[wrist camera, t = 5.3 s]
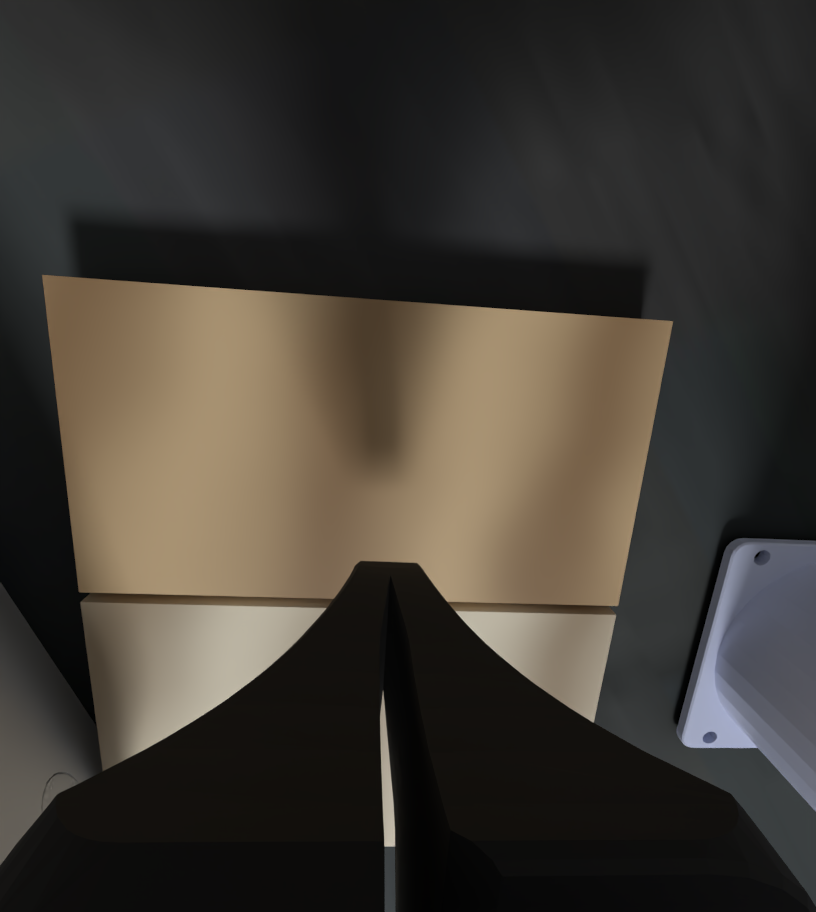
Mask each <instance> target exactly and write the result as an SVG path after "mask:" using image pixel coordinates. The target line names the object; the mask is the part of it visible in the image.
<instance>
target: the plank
mask: <svg viewBox="0 0 816 912" xmlns="http://www.w3.org/2000/svg"><path fill="white" fill-rule="evenodd" d="M42 278H43V286H44V295H45V304H46V312H47V321H48V330H49V338H50V347H51V355H52V364H53V373H54V381H55V390H56V399H57V407H58V416H59V425H60V433H61V442H62V450H63V459H64V468H65V476H66V485H67V494H68V502H69V511H70V519H71V528H72V537H73V545H74V554H75V563H76V571H77V580H78V589H79V592H84V593H124V594H163V595H203V596H242V597H282V598H321V599H334V598H335V596H336V595H337V594H338V593H339V591H340V590H341V588H342V587H343V585H344V584H345V582H346V581H347V579H348V578H349V576H350V574H351V573H352V571H353V569H354V566H355V565H356V564H357V563H358V562H360V561H380V562H408V563H418V564H419V565H420V566H421V568H422V569H423V570H424V572H425V573H426V575H427V576H428V577H429V579H430V580H431V581H432V583H433V584H434V586H435V587H436V588H437V589H438V591H439V592H440V593H441V595H442V596H443V597H444V598H445V600H446V601H447V602H479V603H519V604H558V605H597V606H618V603H619V598H620V593H621V588H622V583H623V577H624V572H625V567H626V562H627V557H628V551H629V546H630V541H631V536H632V531H633V526H634V520H635V515H636V510H637V505H638V500H639V495H640V489H641V484H642V479H643V474H644V469H645V464H646V458H647V453H648V448H649V443H650V438H651V432H652V427H653V422H654V417H655V412H656V407H657V401H658V396H659V391H660V386H661V381H662V376H663V370H664V365H665V360H666V355H667V350H668V344H669V339H670V334H671V329H672V324H673V321H662V320H648V319H634V318H621V317H607V316H594V315H580V314H566V313H553V312H539V311H525V310H512V309H498V308H485V307H471V306H457V305H444V304H430V303H417V302H403V301H389V300H376V299H362V298H349V297H335V296H321V295H308V294H294V293H281V292H267V291H253V290H240V289H226V288H213V287H199V286H185V285H172V284H158V283H145V282H131V281H117V280H104V279H90V278H77V277H63V276H49V275H42Z"/></svg>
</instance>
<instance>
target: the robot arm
mask: <svg viewBox="0 0 816 912" xmlns="http://www.w3.org/2000/svg"><path fill="white" fill-rule="evenodd" d="M758 552H760V554H759V555H758V557H756V558H755V559H754V557H755V555H756V554H757V553H758ZM383 693H384V705H385V716H386V727H387V738H388V749H389V759H390V770H391V781H392V792H393V803H394V822H395V886H396V912H816V907H815V905H814V903H813V902H812V900H811V898H810V897H809V895H808V894H807V892H806V891H805V889H804V888H803V887H802V885H801V884H800V883H799V881H798V880H797V879H796V877H795V876H794V875H793V873H792V872H791V871H790V869H789V868H788V867H787V865H786V864H785V863H784V862H783V860H782V859H781V858H780V856H779V855H778V854H777V852H776V851H775V850H774V848H773V847H772V846H771V844H770V843H769V842H768V840H767V839H766V838H765V836H764V835H763V834H762V832H761V831H760V830H759V828H758V827H757V826H756V825H755V823H754V822H753V821H752V819H751V818H750V817H749V816H748V814H747V813H746V812H745V810H744V809H743V808H742V807H741V806H740V804H739V803H738V802H737V801H736V800H735V798H734V797H733V796H732V795H731V794H730V793H728V792H726V791H724V790H722V789H720V788H718V787H716V786H714V785H712V784H710V783H708V782H706V781H704V780H702V779H699V778H697V777H695V776H693V775H691V774H689V773H687V772H685V771H683V770H681V769H679V768H677V767H675V766H673V765H671V764H669V763H667V762H665V761H663V760H661V759H658V758H656V757H654V756H652V755H650V754H648V753H646V752H644V751H642V750H641V749H639V748H637V747H635V746H633V745H632V744H630V743H628V742H626V741H625V740H623V739H621V738H619V737H618V736H616V735H614V734H612V733H610V732H609V731H607V730H605V729H603V728H602V727H600V726H598V725H596V724H595V723H593V722H592V721H590V720H588V719H587V718H585V717H584V716H582V715H580V714H579V713H577V712H575V711H574V710H572V709H571V708H569V707H568V706H566V705H565V704H563V703H562V702H560V701H559V700H557V699H556V698H555V697H553V696H552V695H550V694H549V693H547V692H546V691H544V690H543V689H542V688H540V687H539V686H537V685H536V684H534V683H533V682H532V681H530V680H529V679H528V678H527V677H525V676H524V675H523V674H521V673H520V672H519V671H518V670H516V669H515V668H514V667H513V666H512V665H510V664H509V663H508V662H507V661H505V660H504V659H503V658H502V657H501V656H499V655H498V654H497V653H496V652H495V651H494V650H493V649H491V648H490V647H489V646H488V645H487V644H486V643H485V642H484V641H483V640H482V639H481V638H480V637H479V636H478V635H477V634H476V633H475V632H474V631H473V630H472V629H471V628H470V627H469V626H468V625H467V624H466V623H465V622H464V621H463V620H462V619H461V617H460V616H459V615H458V614H457V613H456V612H455V610H454V609H453V608H452V607H451V606H450V605H449V603H448V602H447V601H446V600H445V598H444V597H443V596H442V595H441V593H440V592H439V591H438V589H437V588H436V587H435V586H434V584H433V583H432V581H431V580H430V579H429V577H428V576H427V575H426V573H425V572H424V570H423V569H422V568H421V566H420V565H419V564H418V563H408V562H380V561H360V562H358V563H357V564H356V565H355V566H354V569H353V571H352V573H351V574H350V576H349V578H348V579H347V581H346V582H345V584H344V585H343V587H342V588H341V590H340V591H339V593H338V594H337V595H336V596H335V598H334V599H333V600H332V602H331V603H330V604H329V606H328V607H327V608H326V609H325V611H324V612H323V613H322V614H321V615H320V616H319V618H318V619H317V620H316V621H315V622H314V623H313V624H312V625H311V626H310V628H309V629H308V630H307V631H306V632H305V633H304V634H303V635H302V636H301V637H300V638H299V639H298V640H297V641H296V642H295V643H294V644H293V645H292V646H291V647H290V648H289V649H288V650H287V651H286V652H285V653H284V654H283V655H282V656H281V657H280V658H278V659H277V660H276V661H275V662H274V663H273V664H272V665H271V666H269V667H268V668H267V669H266V670H265V671H263V672H262V673H261V674H260V675H258V676H257V677H256V678H255V679H253V680H252V681H251V682H249V683H248V684H247V685H245V686H244V687H243V688H241V689H240V690H239V691H237V692H236V693H235V694H233V695H232V696H231V697H229V698H228V699H227V700H225V701H224V702H222V703H221V704H219V705H218V706H216V707H215V708H213V709H212V710H210V711H208V712H207V713H205V714H204V715H202V716H201V717H199V718H198V719H196V720H194V721H193V722H191V723H189V724H188V725H186V726H184V727H183V728H181V729H180V730H178V731H176V732H175V733H173V734H171V735H170V736H168V737H166V738H164V739H163V740H161V741H159V742H157V743H156V744H154V745H152V746H150V747H148V748H147V749H145V750H143V751H141V752H139V753H137V754H135V755H133V756H131V757H129V758H127V759H125V760H124V761H122V762H120V763H118V764H116V765H114V766H112V767H110V768H108V769H106V770H104V771H102V772H100V773H98V774H96V775H95V776H93V777H91V778H89V779H87V780H85V781H83V782H81V783H79V784H77V785H75V786H73V787H71V788H69V789H66V790H64V791H62V792H60V793H58V794H57V795H56V796H55V798H54V799H53V800H52V801H51V803H50V804H49V805H48V806H47V808H46V809H45V810H44V811H43V813H42V814H41V815H40V816H39V817H38V819H37V820H36V821H35V822H34V823H33V825H32V826H31V827H30V828H29V829H28V830H27V832H26V833H25V834H24V835H23V836H22V838H21V839H20V840H19V841H18V842H17V844H16V845H15V846H14V848H13V849H12V850H11V852H10V853H9V854H8V856H7V857H6V858H5V860H4V861H3V862H2V864H1V865H0V912H384V822H383V799H382V771H381V736H380V713H381V704H382V695H383ZM677 735H678V737H679V739H680V740H681V741H682V743H683V744H684V745H686V746H687V747H692V748H759V750H760V751H761V752H762V753H763V754H764V755H765V756H766V757H767V758H768V759H769V761H770V762H771V763H772V764H773V765H774V766H775V767H776V768H777V769H778V770H779V772H780V773H781V774H782V775H783V776H784V777H785V778H786V779H787V780H788V781H789V783H790V784H791V785H792V786H793V787H794V788H795V789H796V790H797V791H798V793H799V794H800V795H801V796H802V797H803V798H804V799H805V800H806V801H807V802H808V804H809V805H810V806H811V807H812V808H813V809H814V810H815V811H816V541H811V540H784V539H757V538H739V539H736V540H734V541H732V542H731V543H730V544H729V545H728V546H727V547H726V549H725V551H724V554H723V558H722V562H721V565H720V569H719V573H718V577H717V580H716V584H715V588H714V592H713V595H712V599H711V603H710V607H709V610H708V614H707V618H706V622H705V625H704V629H703V633H702V637H701V640H700V644H699V648H698V651H697V655H696V659H695V663H694V666H693V670H692V674H691V678H690V681H689V685H688V689H687V693H686V696H685V700H684V704H683V708H682V711H681V715H680V719H679V723H678V726H677Z"/></svg>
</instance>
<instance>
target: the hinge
mask: <svg viewBox="0 0 816 912" xmlns="http://www.w3.org/2000/svg"><path fill="white" fill-rule="evenodd" d="M102 771H103V769H102V761H101V754H100V746H99V739H98V731H97V726H96V725H95V723H94V722H93V720H92V719H91V717H90V716H89V714H88V713H87V711H86V710H85V708H84V707H83V705H82V704H81V702H80V701H79V699H78V698H77V696H76V695H75V693H74V692H73V690H72V689H71V687H70V686H69V684H68V683H67V681H66V680H65V678H64V677H63V675H62V674H61V672H60V671H59V669H58V668H57V666H56V665H55V663H54V662H53V660H52V659H51V657H50V656H49V654H48V653H47V651H46V650H45V648H44V647H43V645H42V644H41V642H40V641H39V639H38V638H37V636H36V635H35V633H34V632H33V630H32V629H31V627H30V626H29V624H28V623H27V621H26V620H25V618H24V617H23V615H22V614H21V612H20V611H19V609H18V608H17V606H16V605H15V603H14V602H13V600H12V599H11V597H10V596H9V594H8V593H7V591H6V590H5V588H4V587H3V585H2V584H1V582H0V865H1V864H2V862H3V861H4V860H5V858H6V857H7V856H8V854H9V853H10V852H11V850H12V849H13V848H14V846H15V845H16V844H17V842H18V841H19V840H20V839H21V838H22V836H23V835H24V834H25V833H26V832H27V830H28V829H29V828H30V827H31V826H32V825H33V823H34V822H35V821H36V820H37V819H38V817H39V816H40V815H41V814H42V813H43V811H44V810H45V809H46V808H47V806H48V805H49V804H50V803H51V801H52V800H53V799H54V798H55V796H56V795H57V794H58V793H60V792H62V791H64V790H66V789H69V788H71V787H73V786H75V785H77V784H79V783H81V782H83V781H85V780H87V779H89V778H91V777H93V776H95V775H96V774H98V773H100V772H102Z"/></svg>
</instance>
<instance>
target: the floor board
mask: <svg viewBox="0 0 816 912" xmlns="http://www.w3.org/2000/svg"><path fill="white" fill-rule="evenodd" d="M332 600H333V599H321V598H282V597H242V596H203V595H163V594H124V593H90V594H89V595H88V596H87V597H85V598H84V599H83V600H82V601H81V602H80V604H81V612H82V619H83V626H84V634H85V641H86V649H87V656H88V664H89V671H90V679H91V686H92V694H93V701H94V709H95V716H96V724H97V731H98V739H99V746H100V754H101V761H102V769H103V771H104V770H106V769H108V768H110V767H112V766H114V765H116V764H118V763H120V762H122V761H124V760H125V759H127V758H129V757H131V756H133V755H135V754H137V753H139V752H141V751H143V750H145V749H147V748H148V747H150V746H152V745H154V744H156V743H157V742H159V741H161V740H163V739H164V738H166V737H168V736H170V735H171V734H173V733H175V732H176V731H178V730H180V729H181V728H183V727H184V726H186V725H188V724H189V723H191V722H193V721H194V720H196V719H198V718H199V717H201V716H202V715H204V714H205V713H207V712H208V711H210V710H212V709H213V708H215V707H216V706H218V705H219V704H221V703H222V702H224V701H225V700H227V699H228V698H229V697H231V696H232V695H233V694H235V693H236V692H237V691H239V690H240V689H241V688H243V687H244V686H245V685H247V684H248V683H249V682H251V681H252V680H253V679H255V678H256V677H257V676H258V675H260V674H261V673H262V672H263V671H265V670H266V669H267V668H268V667H269V666H271V665H272V664H273V663H274V662H275V661H276V660H277V659H278V658H280V657H281V656H282V655H283V654H284V653H285V652H286V651H287V650H288V649H289V648H290V647H291V646H292V645H293V644H294V643H295V642H296V641H297V640H298V639H299V638H300V637H301V636H302V635H303V634H304V633H305V632H306V631H307V630H308V629H309V628H310V626H311V625H312V624H313V623H314V622H315V621H316V620H317V619H318V618H319V616H320V615H321V614H322V613H323V612H324V611H325V609H326V608H327V607H328V606H329V604H330V603H331V602H332ZM448 603H449V605H450V606H451V607H452V608H453V609H454V610H455V612H456V613H457V614H458V615H459V616H460V617H461V619H462V620H463V621H464V622H465V623H466V624H467V625H468V626H469V627H470V628H471V629H472V630H473V631H474V632H475V633H476V634H477V635H478V636H479V637H480V638H481V639H482V640H483V641H484V642H485V643H486V644H487V645H488V646H489V647H490V648H491V649H493V650H494V651H495V652H496V653H497V654H498V655H499V656H501V657H502V658H503V659H504V660H505V661H507V662H508V663H509V664H510V665H512V666H513V667H514V668H515V669H516V670H518V671H519V672H520V673H521V674H523V675H524V676H525V677H527V678H528V679H529V680H530V681H532V682H533V683H534V684H536V685H537V686H539V687H540V688H542V689H543V690H544V691H546V692H547V693H549V694H550V695H552V696H553V697H555V698H556V699H557V700H559V701H560V702H562V703H563V704H565V705H566V706H568V707H569V708H571V709H572V710H574V711H575V712H577V713H579V714H580V715H582V716H584V717H585V718H587V719H588V720H590V721H592V722H593V723H594V718H595V714H596V709H597V704H598V699H599V694H600V690H601V685H602V680H603V675H604V670H605V666H606V661H607V656H608V651H609V647H610V642H611V637H612V632H613V627H614V623H615V618H616V614H615V613H614V612H613V611H612V609H611V608H610V607H609V606H597V605H558V604H519V603H479V602H448ZM380 736H381V771H382V799H383V822H384V846H395V822H394V803H393V792H392V781H391V770H390V759H389V749H388V738H387V727H386V716H385V705H384V693H383V695H382V704H381V713H380Z"/></svg>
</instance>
